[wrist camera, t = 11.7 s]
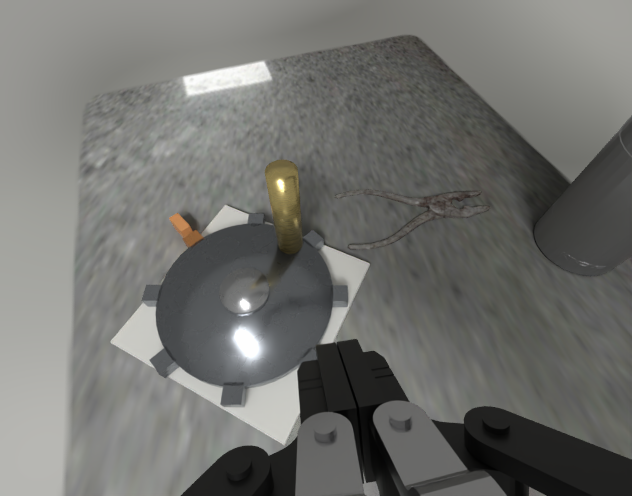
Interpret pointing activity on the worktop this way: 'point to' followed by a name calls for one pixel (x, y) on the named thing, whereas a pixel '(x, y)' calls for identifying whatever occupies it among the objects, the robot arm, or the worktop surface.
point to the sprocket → (246, 298)
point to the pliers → (437, 209)
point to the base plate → (261, 402)
